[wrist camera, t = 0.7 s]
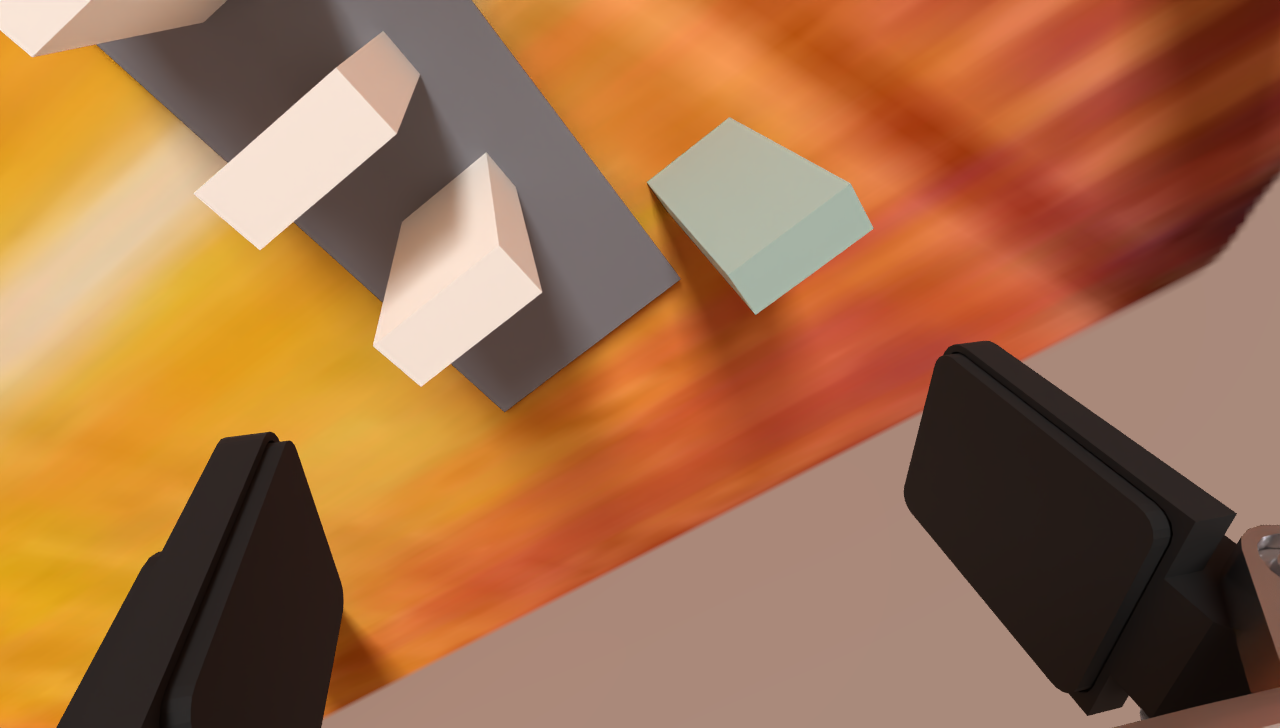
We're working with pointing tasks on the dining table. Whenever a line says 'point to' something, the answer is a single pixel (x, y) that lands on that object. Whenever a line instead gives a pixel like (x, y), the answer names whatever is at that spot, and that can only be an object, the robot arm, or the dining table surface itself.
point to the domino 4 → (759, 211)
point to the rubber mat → (422, 158)
